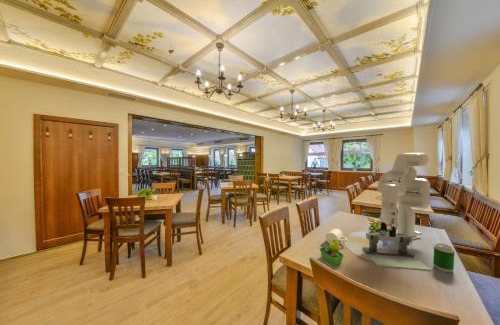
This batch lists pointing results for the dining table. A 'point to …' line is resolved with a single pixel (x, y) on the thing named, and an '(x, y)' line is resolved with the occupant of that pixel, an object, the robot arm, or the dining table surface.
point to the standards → (391, 252)
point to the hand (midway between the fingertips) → (387, 233)
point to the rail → (387, 237)
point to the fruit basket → (332, 253)
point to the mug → (335, 236)
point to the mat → (400, 263)
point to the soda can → (443, 257)
